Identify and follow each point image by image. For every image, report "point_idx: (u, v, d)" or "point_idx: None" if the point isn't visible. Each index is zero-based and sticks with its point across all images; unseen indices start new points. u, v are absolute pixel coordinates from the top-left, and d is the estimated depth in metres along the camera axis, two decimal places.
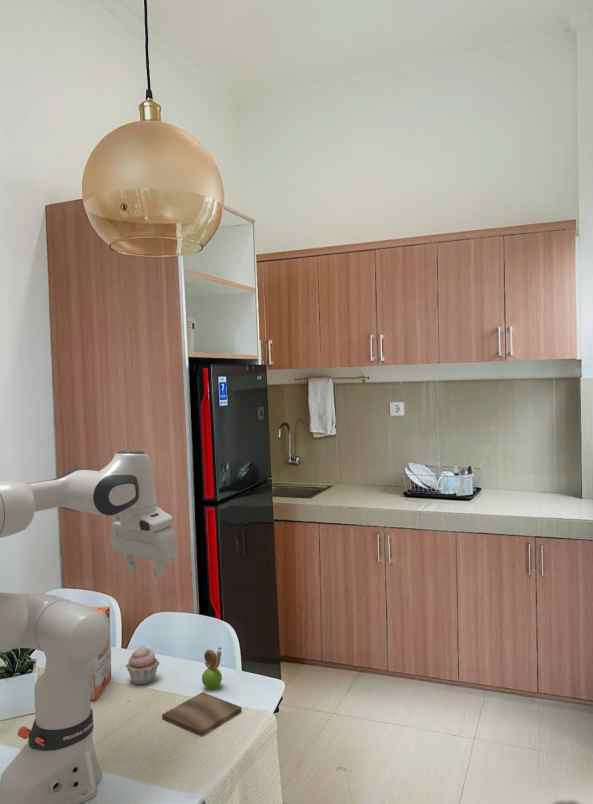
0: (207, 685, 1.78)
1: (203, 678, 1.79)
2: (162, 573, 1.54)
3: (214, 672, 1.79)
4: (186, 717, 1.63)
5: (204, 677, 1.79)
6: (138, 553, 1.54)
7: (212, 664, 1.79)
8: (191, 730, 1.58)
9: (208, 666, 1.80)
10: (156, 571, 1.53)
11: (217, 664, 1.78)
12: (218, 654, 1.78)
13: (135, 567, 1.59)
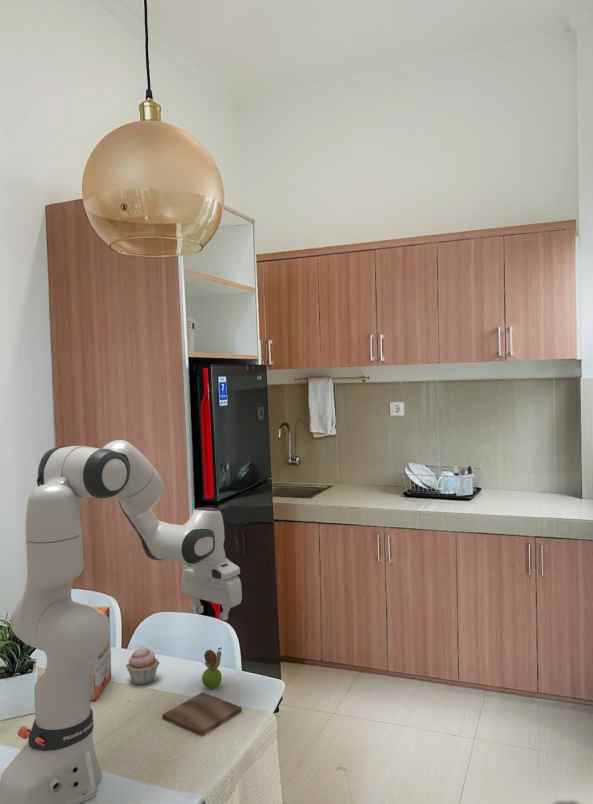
0: (207, 685, 1.78)
1: (203, 678, 1.79)
2: (227, 616, 1.77)
3: (214, 672, 1.79)
4: (186, 717, 1.63)
5: (204, 677, 1.79)
6: (207, 598, 1.78)
7: (212, 664, 1.79)
8: (191, 730, 1.58)
9: (208, 666, 1.80)
10: (222, 614, 1.76)
11: (217, 664, 1.78)
12: (218, 654, 1.78)
13: (201, 610, 1.82)
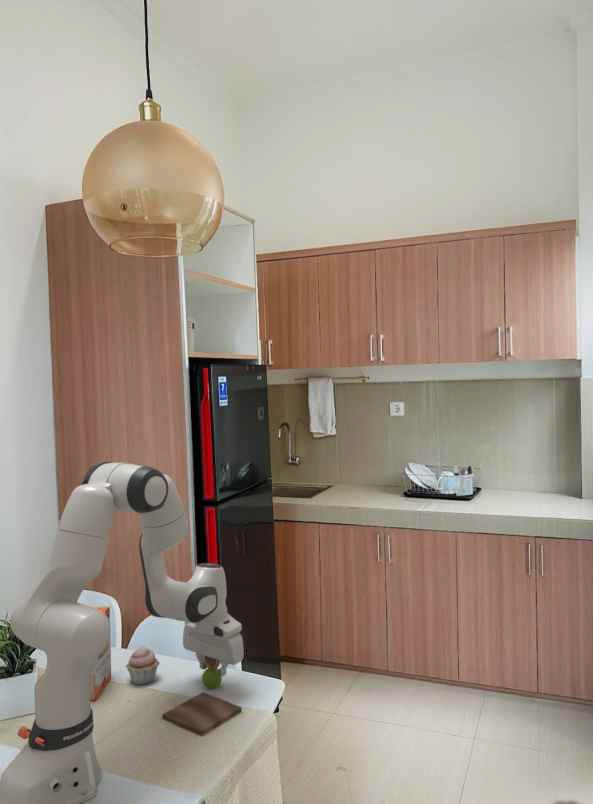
0: (207, 685, 1.78)
1: (203, 677, 1.79)
2: (225, 672, 1.78)
3: (214, 672, 1.79)
4: (186, 717, 1.63)
5: (204, 677, 1.79)
6: (208, 654, 1.78)
7: (212, 664, 1.79)
8: (191, 730, 1.58)
9: (208, 666, 1.80)
10: (220, 670, 1.77)
11: (217, 664, 1.78)
12: None
13: None
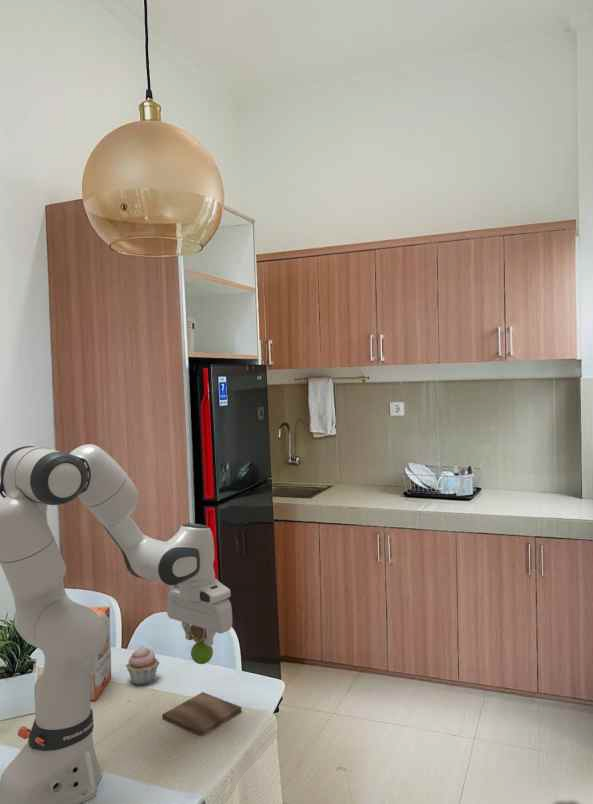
0: (197, 659, 1.63)
1: (192, 652, 1.63)
2: (212, 642, 1.63)
3: (203, 644, 1.64)
4: (186, 717, 1.63)
5: (193, 651, 1.63)
6: (194, 622, 1.63)
7: (199, 636, 1.64)
8: (191, 730, 1.58)
9: (196, 640, 1.65)
10: (207, 640, 1.62)
11: (205, 634, 1.63)
12: None
13: (192, 636, 1.67)
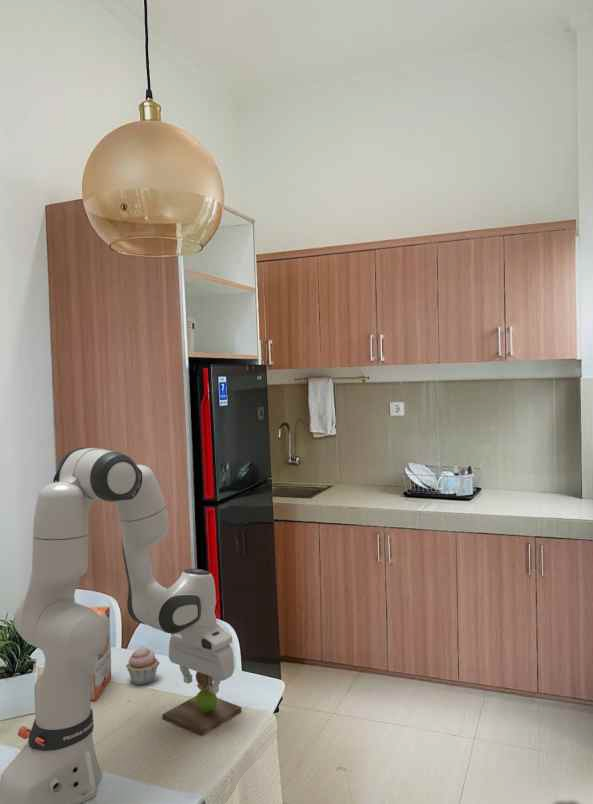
0: (201, 708, 1.62)
1: (196, 701, 1.63)
2: (217, 689, 1.63)
3: (208, 693, 1.64)
4: (186, 717, 1.63)
5: (198, 700, 1.63)
6: (196, 668, 1.64)
7: (204, 684, 1.64)
8: (191, 730, 1.58)
9: (201, 688, 1.65)
10: (212, 687, 1.62)
11: (210, 684, 1.63)
12: None
13: (190, 679, 1.68)
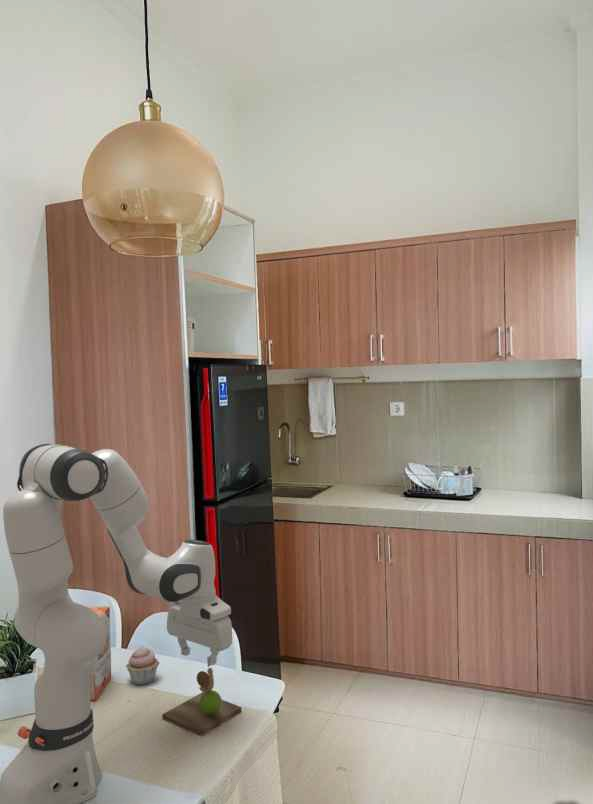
0: (206, 709, 1.61)
1: (200, 703, 1.62)
2: (215, 661, 1.62)
3: (211, 693, 1.63)
4: (186, 717, 1.63)
5: (201, 702, 1.62)
6: (194, 639, 1.63)
7: (206, 685, 1.63)
8: (191, 730, 1.58)
9: (203, 690, 1.64)
10: (210, 658, 1.61)
11: (211, 683, 1.62)
12: (209, 671, 1.62)
13: (188, 652, 1.68)
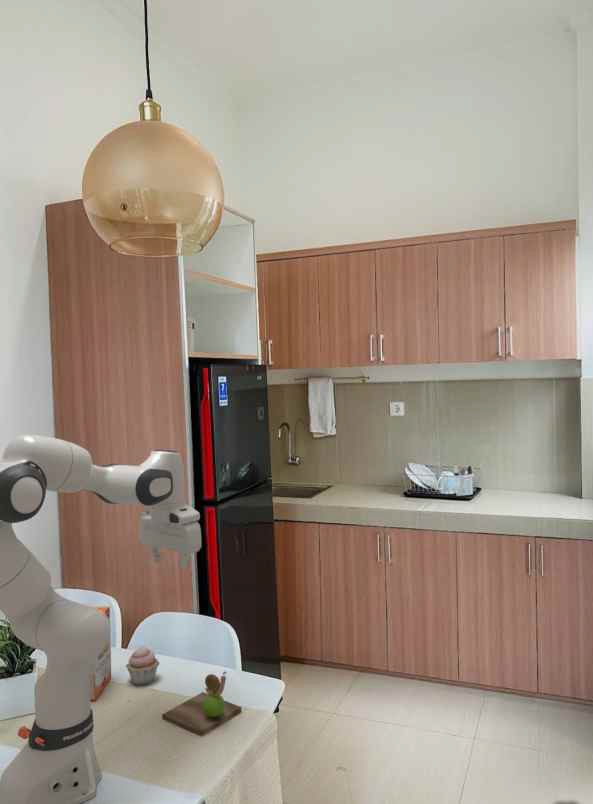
0: (210, 713, 1.61)
1: (205, 705, 1.61)
2: (186, 565, 1.66)
3: (217, 698, 1.62)
4: (186, 717, 1.63)
5: (207, 705, 1.61)
6: (165, 545, 1.67)
7: (215, 690, 1.61)
8: (191, 730, 1.58)
9: (210, 692, 1.63)
10: (180, 562, 1.65)
11: (221, 690, 1.61)
12: (223, 679, 1.60)
13: (160, 560, 1.72)
